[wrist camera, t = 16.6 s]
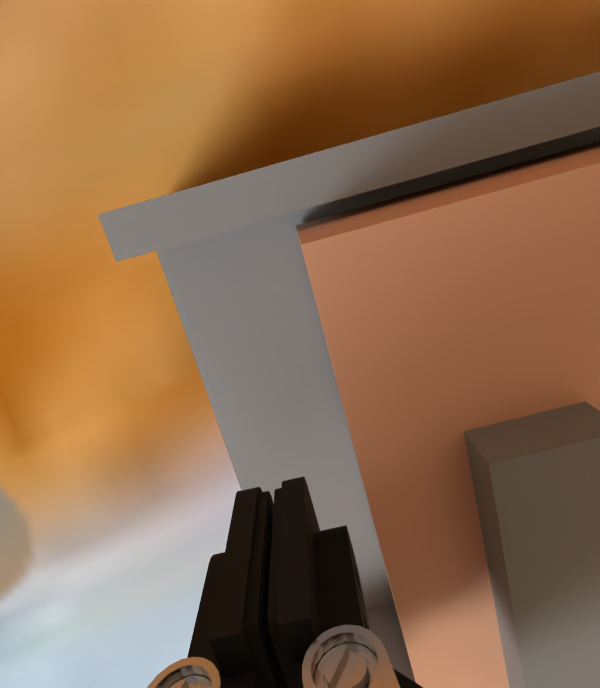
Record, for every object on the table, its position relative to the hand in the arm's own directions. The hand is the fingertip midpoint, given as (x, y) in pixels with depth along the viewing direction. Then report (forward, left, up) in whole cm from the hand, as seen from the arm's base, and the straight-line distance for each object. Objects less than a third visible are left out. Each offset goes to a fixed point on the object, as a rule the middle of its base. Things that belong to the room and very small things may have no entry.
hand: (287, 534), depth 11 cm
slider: (0, +7, -4) cm, 7 cm away
